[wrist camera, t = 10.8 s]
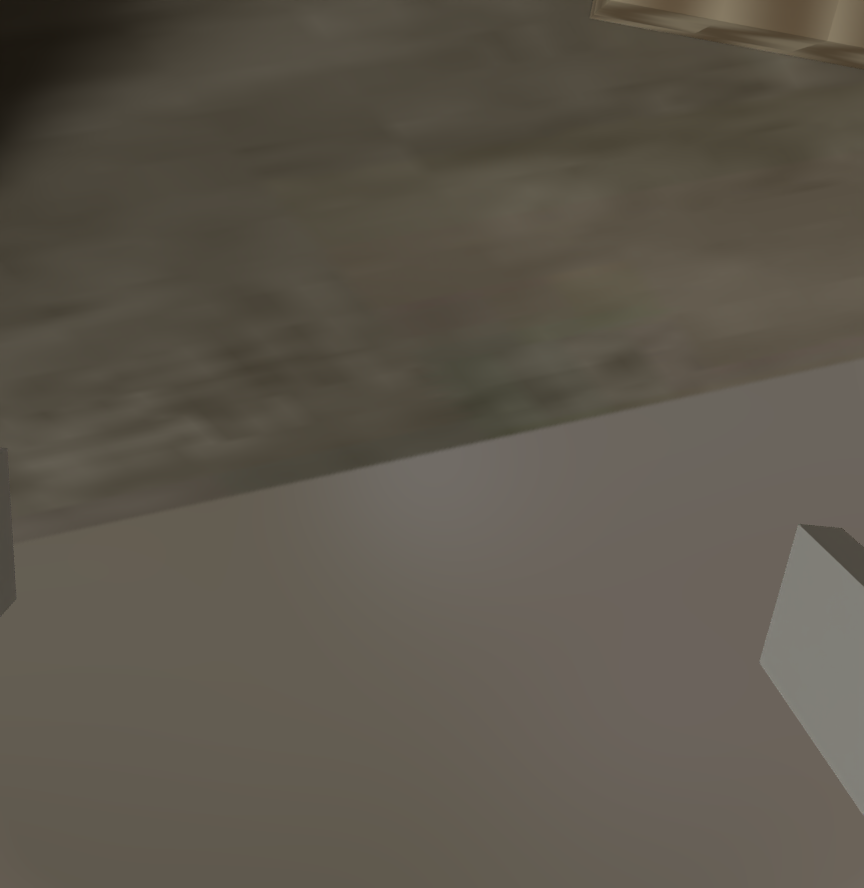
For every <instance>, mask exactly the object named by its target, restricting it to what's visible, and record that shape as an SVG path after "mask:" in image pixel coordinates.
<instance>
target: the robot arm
mask: <svg viewBox="0 0 864 888" xmlns="http://www.w3.org/2000/svg"><path fill="white" fill-rule="evenodd" d="M14 569H15V568H14V551H13V535H12V518H11V502H10V485H9V468H8V452H7V448H0V616H2V614H3V613H4V612H5V611H6V610H7V609H8V608H9V606H11V604H12V603H13V602H14V601H15V600H16V585H15V570H14ZM759 663H760V664H761V666H762V667H763V669H764V670H765V672H766V673H767V674H768V676H769V677H770V679H771V680H772V682H773V683H774V685H775V686H776V688H777V689H778V691H779V692H780V694H781V695H782V697H783V698H784V699H785V701H786V702H787V704H788V705H789V707H790V708H791V710H792V711H793V713H794V714H795V716H796V717H797V718H798V720H799V721H800V723H801V724H802V726H803V727H804V729H805V730H806V732H807V733H808V735H809V736H810V738H811V739H812V740H813V742H814V744H815V745H816V746H817V748H818V749H819V751H820V752H821V754H822V755H823V757H824V758H825V760H826V761H827V763H828V764H829V765H830V767H831V768H832V770H833V771H834V773H835V774H836V776H837V777H838V779H839V780H840V782H841V783H842V785H843V786H844V787H845V789H846V791H847V792H848V793H849V795H850V796H851V798H852V799H853V801H854V802H855V804H856V805H857V807H858V808H859V810H860V811H861V813H862V814H863V815H864V547H863V546H862V545H861V544H860V543H858V542H857V541H856V540H855V539H854V538H852V537H851V536H850V535H849V534H848V533H847V532H846V531H845V530H844V529H842V528H835V527H824V526H814V525H802V524H799V525H798V528H797V531H796V535H795V539H794V542H793V545H792V549H791V552H790V556H789V560H788V563H787V567H786V570H785V574H784V577H783V581H782V584H781V588H780V591H779V595H778V598H777V602H776V605H775V609H774V613H773V616H772V620H771V623H770V627H769V631H768V634H767V637H766V641H765V645H764V649H763V652H762V655H761V659H760V662H759Z"/></svg>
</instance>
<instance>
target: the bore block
mask: <svg viewBox="0 0 864 888" xmlns="http://www.w3.org/2000/svg"><path fill="white" fill-rule="evenodd" d="M590 19H596V20H601V21H606V22H612V23H617V24H623V25H628V26H633V27H639V28H644V29H649V30H655V31H660V32H666V33H671V34H676V35H682V36H687V37H692V38H698V39H703V40H709V41H714V42H719V43H725V44H730V45H735V46H741V47H746V48H751V49H757V50H762V51H768V52H773V53H778V54H784V55H789V56H794V57H800V58H805V59H811V60H816V61H821V62H827V63H832V64H837V65H843V66H848V67H854V68H859V69H864V0H593V4H592V9H591V14H590Z"/></svg>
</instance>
